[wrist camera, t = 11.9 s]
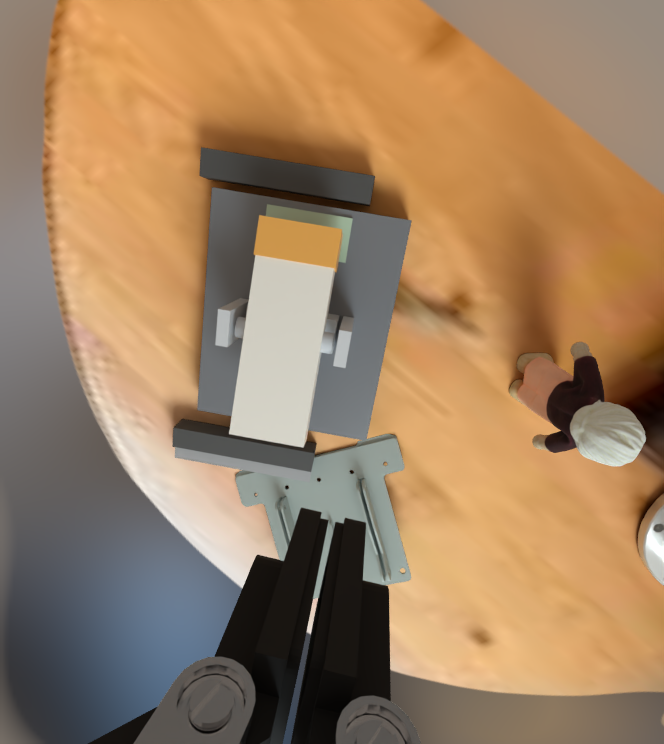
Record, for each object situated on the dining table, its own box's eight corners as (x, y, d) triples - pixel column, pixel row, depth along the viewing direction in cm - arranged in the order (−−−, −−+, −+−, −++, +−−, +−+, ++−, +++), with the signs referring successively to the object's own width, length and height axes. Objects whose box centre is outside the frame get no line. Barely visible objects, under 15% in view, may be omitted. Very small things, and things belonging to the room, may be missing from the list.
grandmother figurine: (550, 417, 35) (647, 513, 23) (502, 416, 35) (572, 510, 23) (566, 324, 32) (683, 376, 20) (514, 323, 33) (599, 374, 21)
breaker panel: (408, 221, 31) (420, 217, 24) (366, 430, 36) (365, 473, 30) (221, 190, 31) (182, 177, 25) (206, 401, 37) (170, 437, 30)
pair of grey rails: (374, 179, 30) (374, 176, 29) (322, 477, 38) (320, 488, 36) (196, 150, 31) (186, 145, 29) (180, 450, 38) (171, 460, 37)
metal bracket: (439, 597, 34) (267, 628, 37) (434, 562, 40) (285, 591, 42) (391, 425, 34) (223, 467, 37) (393, 415, 40) (247, 453, 43)
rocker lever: (351, 237, 28) (351, 230, 26) (316, 440, 30) (313, 449, 28) (257, 222, 28) (249, 213, 26) (227, 424, 30) (218, 432, 28)
